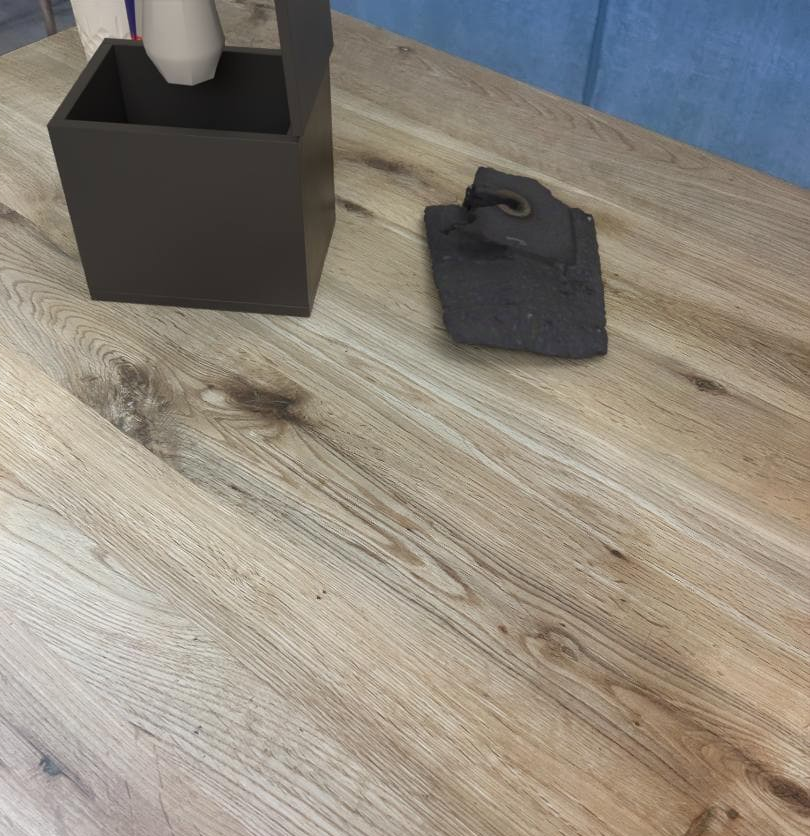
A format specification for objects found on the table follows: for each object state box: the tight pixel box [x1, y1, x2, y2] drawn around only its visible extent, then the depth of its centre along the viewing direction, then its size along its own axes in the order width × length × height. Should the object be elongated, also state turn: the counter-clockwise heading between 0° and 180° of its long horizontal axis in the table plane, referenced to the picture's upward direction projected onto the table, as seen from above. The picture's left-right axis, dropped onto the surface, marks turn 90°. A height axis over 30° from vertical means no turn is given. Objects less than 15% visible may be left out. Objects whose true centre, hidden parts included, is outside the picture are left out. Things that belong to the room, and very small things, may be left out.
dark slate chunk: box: [423, 165, 609, 360], centre depth 86 cm, size 15×22×5 cm
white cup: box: [69, 0, 131, 63], centre depth 108 cm, size 8×8×10 cm
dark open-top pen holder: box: [46, 38, 337, 318], centre depth 84 cm, size 18×14×15 cm
